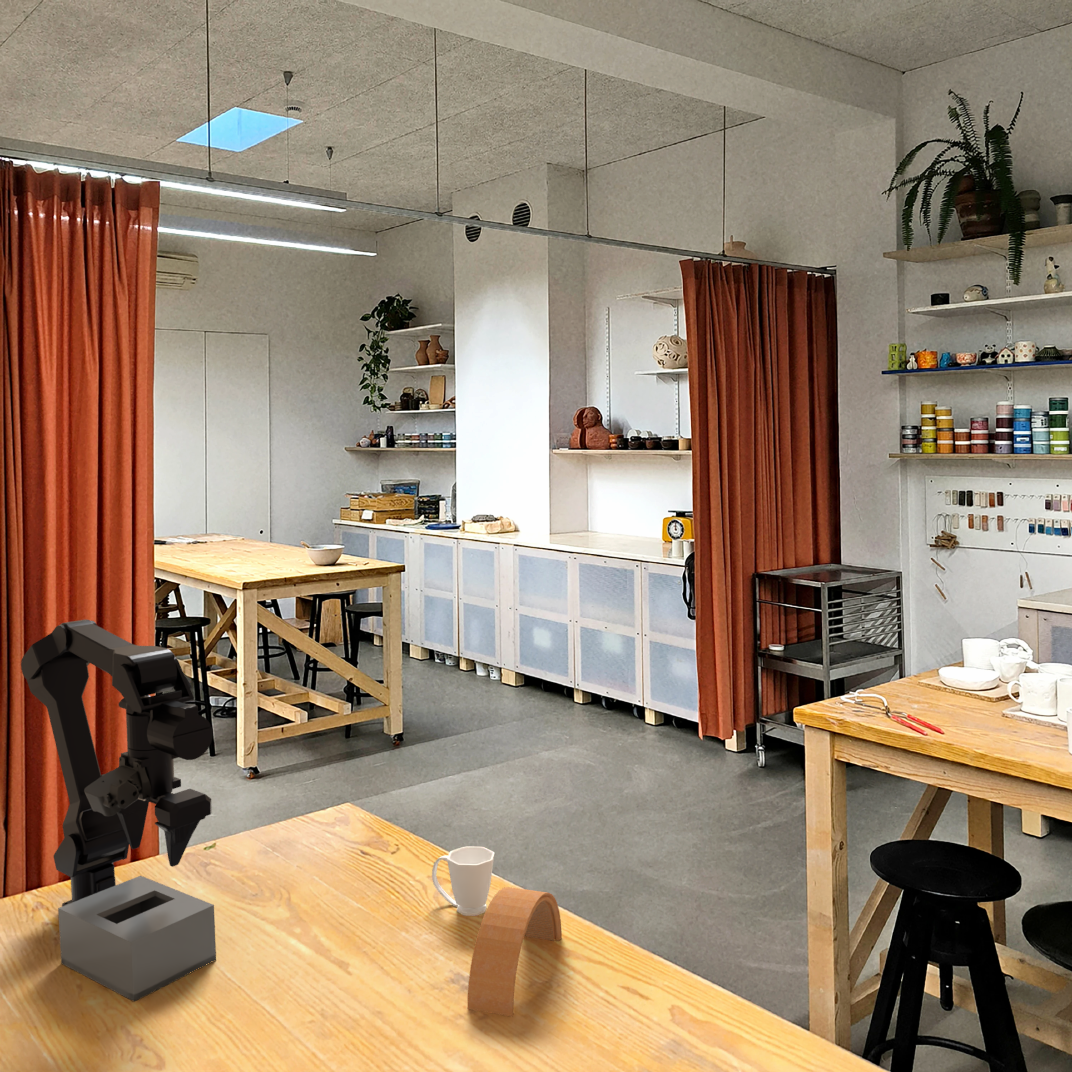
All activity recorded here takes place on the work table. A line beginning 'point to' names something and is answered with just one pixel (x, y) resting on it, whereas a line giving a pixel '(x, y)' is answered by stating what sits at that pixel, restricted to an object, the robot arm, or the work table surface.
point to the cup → (467, 878)
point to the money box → (137, 936)
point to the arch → (508, 945)
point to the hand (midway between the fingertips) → (154, 856)
